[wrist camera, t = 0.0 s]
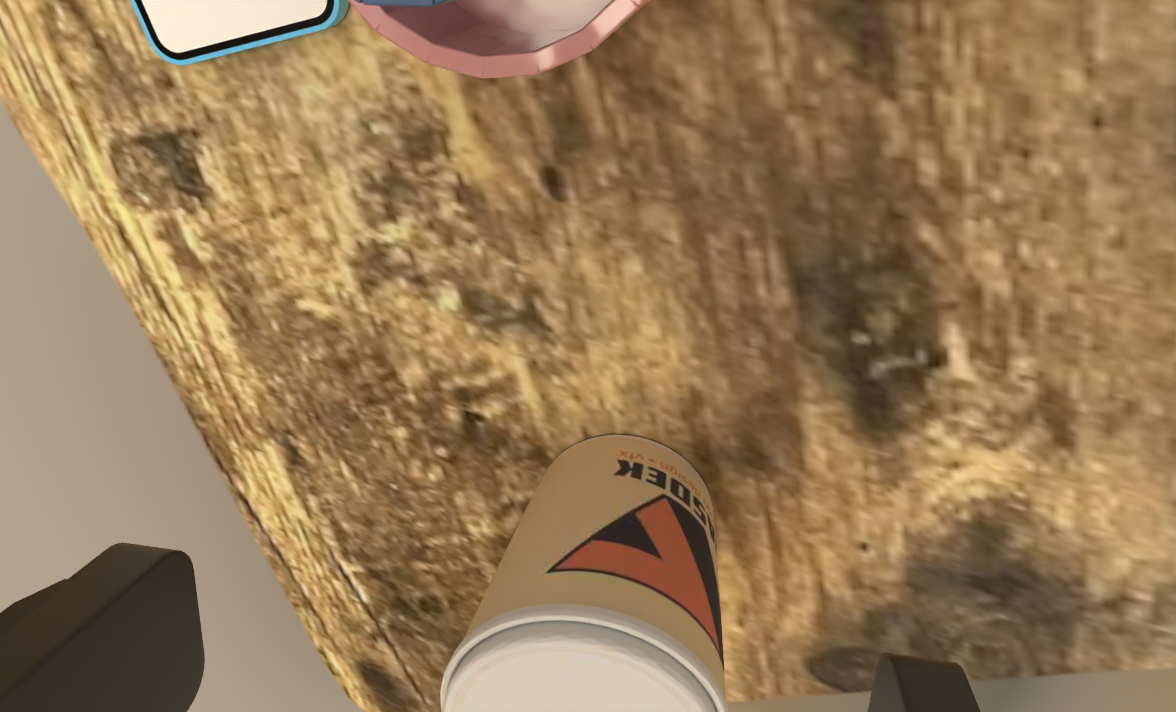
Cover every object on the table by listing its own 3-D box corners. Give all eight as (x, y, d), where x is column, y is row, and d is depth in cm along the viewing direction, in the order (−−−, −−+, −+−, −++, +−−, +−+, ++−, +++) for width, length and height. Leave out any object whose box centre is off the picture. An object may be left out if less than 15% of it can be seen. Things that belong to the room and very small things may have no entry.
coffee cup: (778, 517, 35) (796, 769, 25) (628, 620, 39) (587, 874, 29) (620, 374, 33) (565, 582, 23) (478, 498, 37) (376, 723, 27)
